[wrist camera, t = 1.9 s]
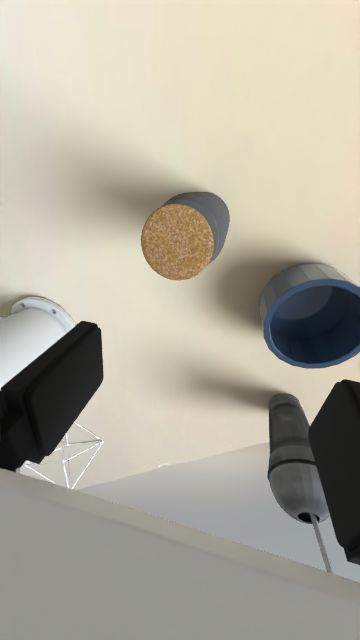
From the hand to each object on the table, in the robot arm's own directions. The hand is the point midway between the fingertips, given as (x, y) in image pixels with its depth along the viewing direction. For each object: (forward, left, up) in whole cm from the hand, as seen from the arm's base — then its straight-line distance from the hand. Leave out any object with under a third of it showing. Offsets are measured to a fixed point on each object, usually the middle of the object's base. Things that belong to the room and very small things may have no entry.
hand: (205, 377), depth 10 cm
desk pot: (+11, -5, -23) cm, 25 cm away
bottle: (-3, +3, -23) cm, 23 cm away
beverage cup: (+14, -22, -23) cm, 34 cm away
